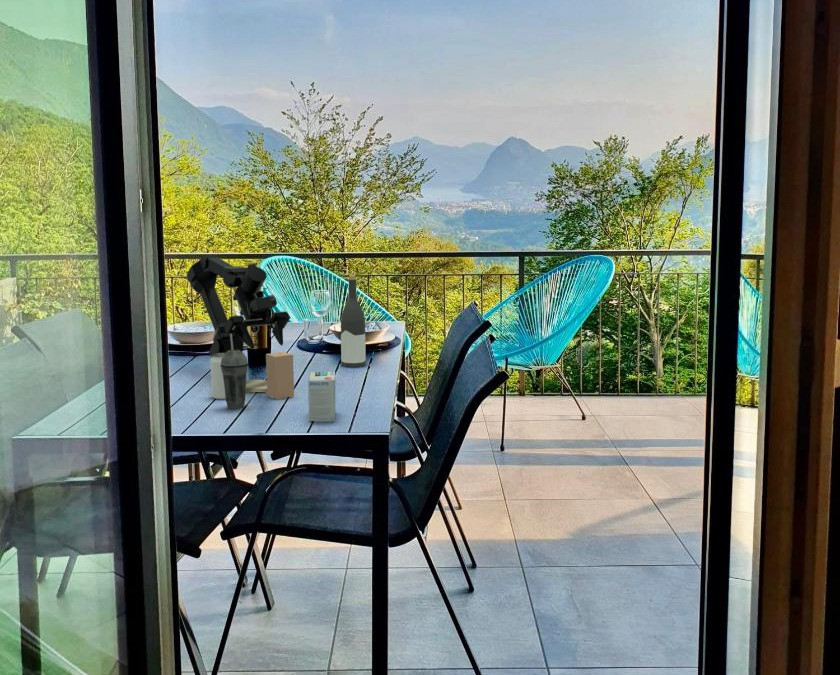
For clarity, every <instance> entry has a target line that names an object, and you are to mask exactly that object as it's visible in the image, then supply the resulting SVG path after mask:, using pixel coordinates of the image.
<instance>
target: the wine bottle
mask: <svg viewBox="0 0 840 675" xmlns="http://www.w3.org/2000/svg"><path fill="white" fill-rule="evenodd" d="M356 278H357V276H356V274H349V275H348V280H347V281H348V299H347V302H346V303H345V306H344V307H343V310H342V314H341V318H340V351H341V352H340V353H341V354H340V357H341V360H340V361H341V362H340V363H341V367H343V366H344V367H343V368H349V369H352V368H353V369H355V368H364V367H365V366H366V361H367V360H366V353H367V352H366V317H365V313H364V311H363V310H364V309H363V308H362V306H361V304H360V303H359V300H358V299H357V279H356Z"/></svg>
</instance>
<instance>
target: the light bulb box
mask: <svg viewBox="0 0 840 675" xmlns="http://www.w3.org/2000/svg"><path fill="white" fill-rule="evenodd" d="M307 381H308V384H307V388H308V393H307V394H308V397H307V398H308V399H307V400H308V422H309V423H311V422H310V421H314V422H313V423H323V422H324V423H331V422H332V421H334V422H335V420H336V372H335V371H311V372H309V377H308V380H307ZM315 421H316V422H315ZM318 421H319V422H318ZM332 423H333V422H332Z"/></svg>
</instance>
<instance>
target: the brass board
mask: <svg viewBox="0 0 840 675" xmlns="http://www.w3.org/2000/svg"><path fill="white" fill-rule="evenodd" d="M255 392H265V393H264V394H267V379H254V378H253V379H250V380H248V381H246V393H255Z"/></svg>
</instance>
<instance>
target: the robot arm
mask: <svg viewBox="0 0 840 675" xmlns="http://www.w3.org/2000/svg"><path fill="white" fill-rule="evenodd" d="M217 277H220V278H221V279H222V282H223V284H224V285H225V286H226V287H227V288H232V289H233V288H235V291H234V293H233V295H232V296H233V297H232V300H233V301H237V304H238V306H239V308H240V312H239V313H240V315H230V316H229V318H227V314H226V312H225V310H224V307H223V304H222V303H221V300H220V297H219V295H218V292H217V290H216V284H217V279H218V278H217ZM186 279H187V281H188V283H189V284H190V287H191V288H192V289H193V290H194V291H195V292H197V293H198V294H199V295H200V296H201V299H202V302H203V305H204V307H205V310H206V312H207V315H208V317H209V319H210V322H211V324H212V327H213V329H214V334H213V337H212V341H213V343H212V345H211V347H210V349H209V354H210V358H212V355H213V354H218V353H226V352H227V351H229V350H231V340H230V334H232V340H233V350H234V349H236V350H240V351H241V352H243V350H244V345H246V346H247V347H249V348H251V349H252V350H254V348H255V344H254V342H253V341H254V340H252V337H251V335H250V332H249V330H248V327H260V326H269V327H270V329H272V330H271V332H272V334H273V336H274V338H275V339H276V340H277V343H278V344H279V345H280V346H283V344H284V329H285V327H286V326H287V324H288V322H289V321H290V319H291V317H290V314H289V313H288V311H286V310H285V311H284V310H283V311H276V312H274V313H273V315H272V317H267V316H268V315H269V313H270V312H269V310H270V309H273V308H275V307H276V306H277V305H278V302H277V298H276V297H275V295H274V294H269V295H268V296H266V297H265V296H263V297H258V296H257V293H259V292H260V291H261V289H262V287H263V285H264V283H265V281H266V279H267V273H266V271H265V270H263V269H262V268H261V267H258V266H257V265H256V264H255V263H250V264H248V265H247V267H245V266H235V265H232V264H230V263H229V262H227V261H225V260H223V259H222V258H220V257H219V256H218V255H204V256H202V257H201V258H200V260H199V261H197V262H195V263H194V264H192V265H191V266H190V268H189V269H188V271H187V273H186Z"/></svg>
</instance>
